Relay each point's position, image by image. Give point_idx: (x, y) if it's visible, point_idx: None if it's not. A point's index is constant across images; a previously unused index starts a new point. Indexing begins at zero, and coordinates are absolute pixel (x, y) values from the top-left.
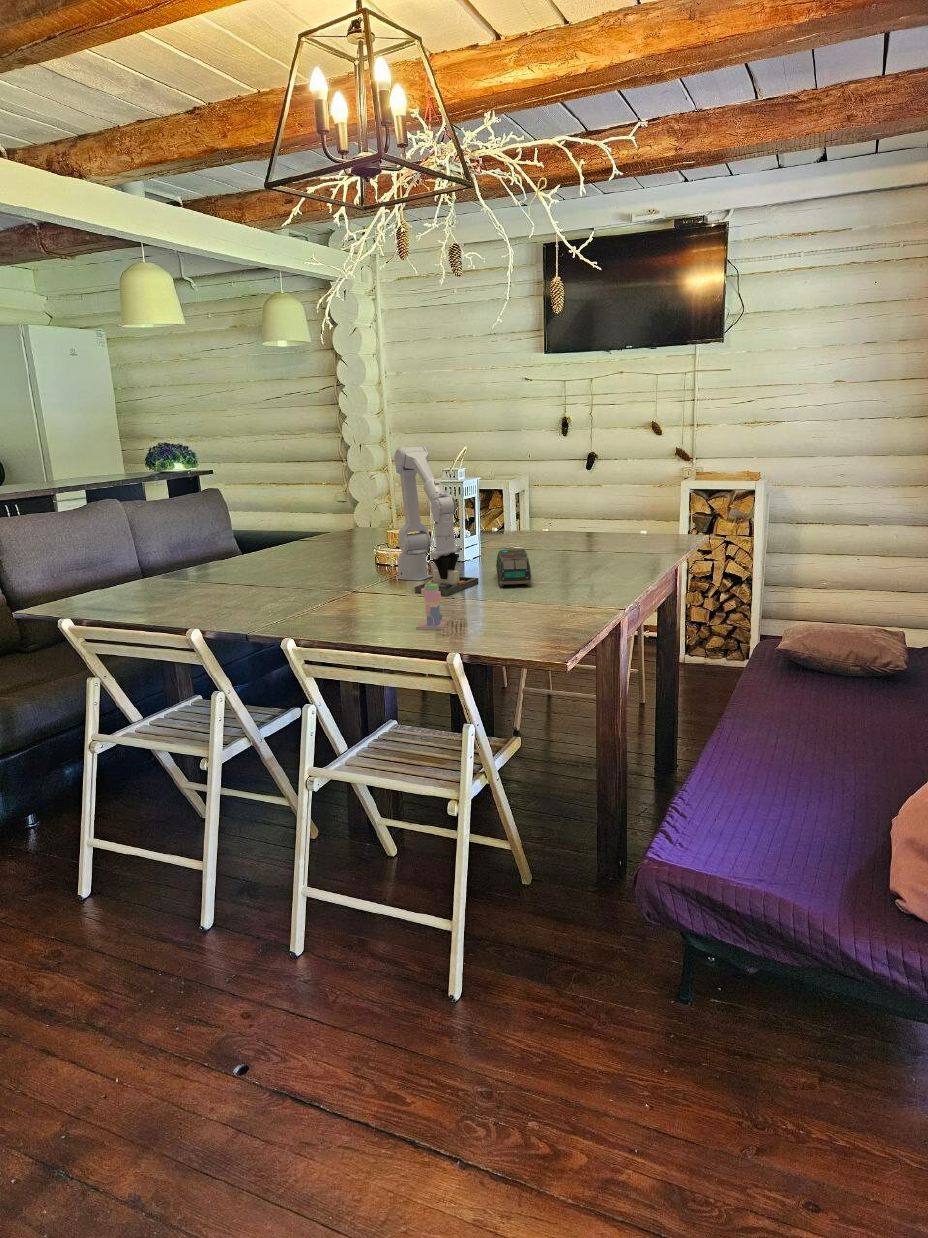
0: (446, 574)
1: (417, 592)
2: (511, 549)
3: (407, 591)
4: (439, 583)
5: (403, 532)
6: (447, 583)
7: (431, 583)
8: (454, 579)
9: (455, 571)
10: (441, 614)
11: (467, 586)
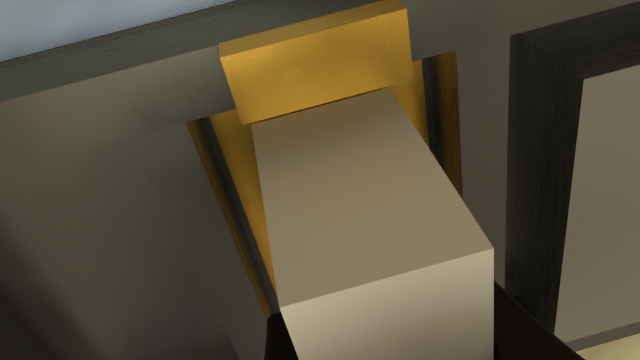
0: (517, 306)
1: None
2: None
3: (593, 349)
4: (615, 201)
5: None
6: (593, 113)
7: (637, 266)
8: (427, 159)
9: (382, 300)
10: None
11: (164, 29)
